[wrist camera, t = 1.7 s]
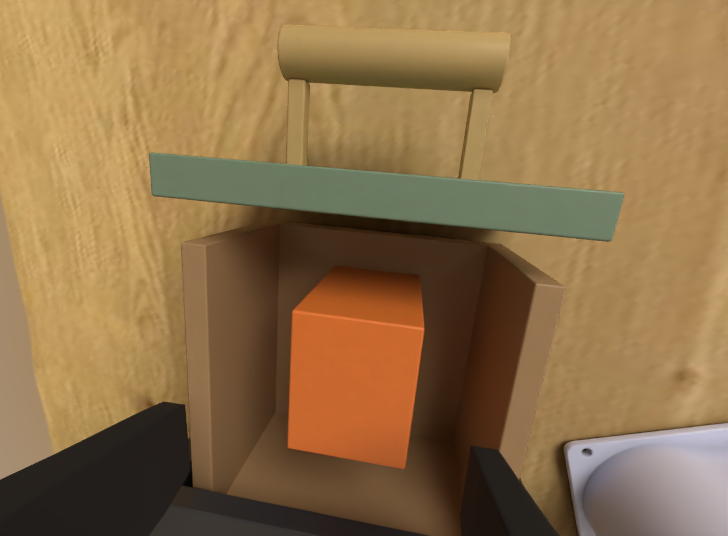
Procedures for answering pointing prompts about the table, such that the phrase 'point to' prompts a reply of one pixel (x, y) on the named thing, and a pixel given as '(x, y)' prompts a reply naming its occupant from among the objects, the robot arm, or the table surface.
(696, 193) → the table surface
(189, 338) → the drawer
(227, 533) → the cabinet
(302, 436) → the orange rectangular block
